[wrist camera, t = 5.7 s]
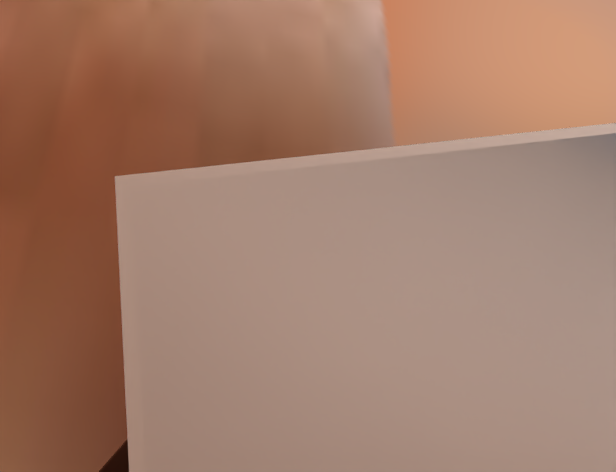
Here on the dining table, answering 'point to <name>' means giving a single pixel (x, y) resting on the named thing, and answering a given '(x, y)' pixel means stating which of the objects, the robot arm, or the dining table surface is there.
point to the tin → (375, 309)
